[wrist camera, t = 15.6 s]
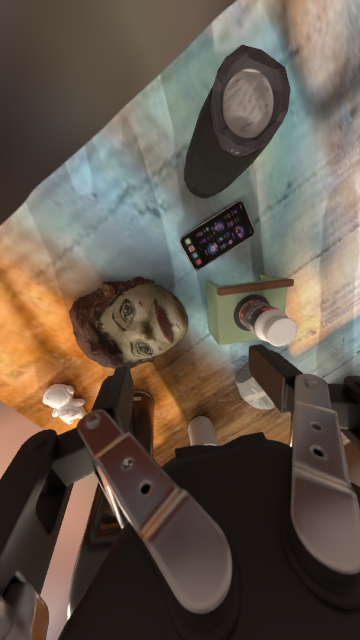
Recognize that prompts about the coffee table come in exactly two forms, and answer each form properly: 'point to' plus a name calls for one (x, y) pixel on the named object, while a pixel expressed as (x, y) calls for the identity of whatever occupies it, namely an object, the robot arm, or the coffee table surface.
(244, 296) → the green footstool with circle
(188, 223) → the coffee table surface
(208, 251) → the smartphone
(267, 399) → the decorative stone
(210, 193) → the portable speaker
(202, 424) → the cup
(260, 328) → the pill bottle
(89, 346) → the sculpture
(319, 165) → the coffee table surface
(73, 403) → the astronaut figurine
